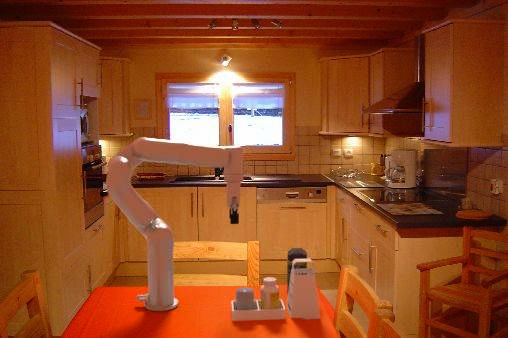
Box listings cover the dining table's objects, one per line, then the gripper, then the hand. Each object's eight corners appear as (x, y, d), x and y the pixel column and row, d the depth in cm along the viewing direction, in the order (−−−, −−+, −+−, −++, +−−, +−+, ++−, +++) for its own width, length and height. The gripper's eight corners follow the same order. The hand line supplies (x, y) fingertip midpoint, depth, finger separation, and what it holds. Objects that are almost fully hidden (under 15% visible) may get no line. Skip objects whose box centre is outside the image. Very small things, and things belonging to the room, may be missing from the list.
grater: (286, 308, 195) (286, 256, 193) (313, 307, 196) (314, 255, 194) (290, 319, 185) (291, 264, 183) (319, 318, 186) (320, 264, 184)
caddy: (232, 322, 183) (232, 311, 182) (231, 311, 192) (231, 300, 192) (285, 320, 184) (285, 309, 184) (281, 309, 194) (281, 299, 193)
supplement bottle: (281, 311, 191) (281, 277, 189) (276, 318, 185) (276, 283, 183) (264, 309, 193) (264, 275, 192) (258, 315, 187) (258, 281, 185)
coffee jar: (286, 290, 215) (287, 246, 212) (306, 290, 214) (306, 246, 212) (286, 298, 205) (287, 252, 203) (307, 299, 205) (307, 253, 202)
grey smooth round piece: (236, 318, 184) (236, 294, 183) (235, 311, 191) (235, 287, 190) (254, 318, 185) (254, 293, 184) (253, 310, 191) (253, 287, 190)
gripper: (223, 175, 211) (223, 216, 213) (224, 181, 194) (225, 226, 196) (242, 174, 212) (242, 216, 214) (244, 180, 195) (245, 225, 197)
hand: (234, 221), depth 205 cm, fingers open, 9 cm apart
